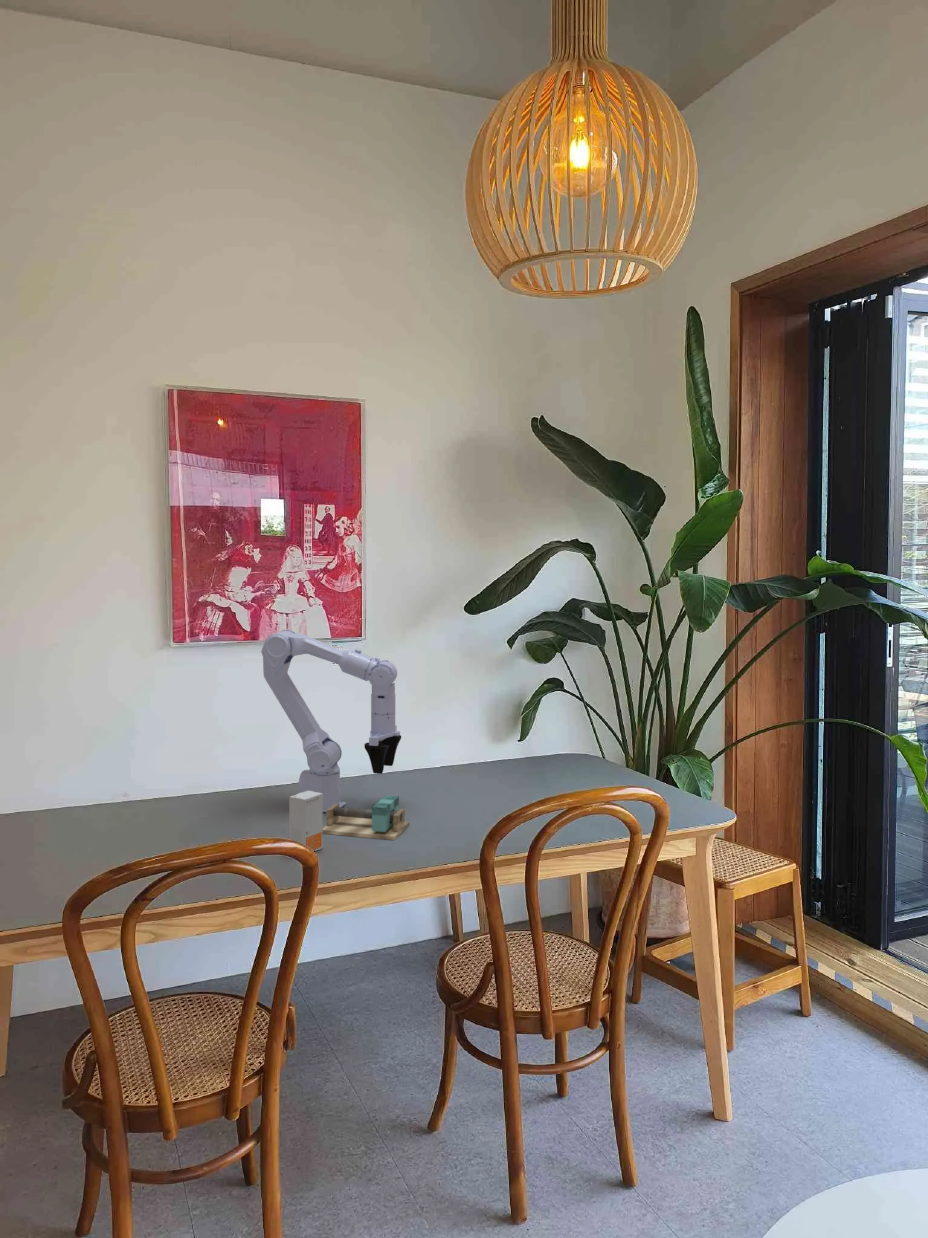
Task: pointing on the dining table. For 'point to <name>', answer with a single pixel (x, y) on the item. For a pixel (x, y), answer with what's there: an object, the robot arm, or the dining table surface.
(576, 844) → the dining table surface
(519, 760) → the dining table surface
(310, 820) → the skincare box
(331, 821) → the pipe jig
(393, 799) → the collar
